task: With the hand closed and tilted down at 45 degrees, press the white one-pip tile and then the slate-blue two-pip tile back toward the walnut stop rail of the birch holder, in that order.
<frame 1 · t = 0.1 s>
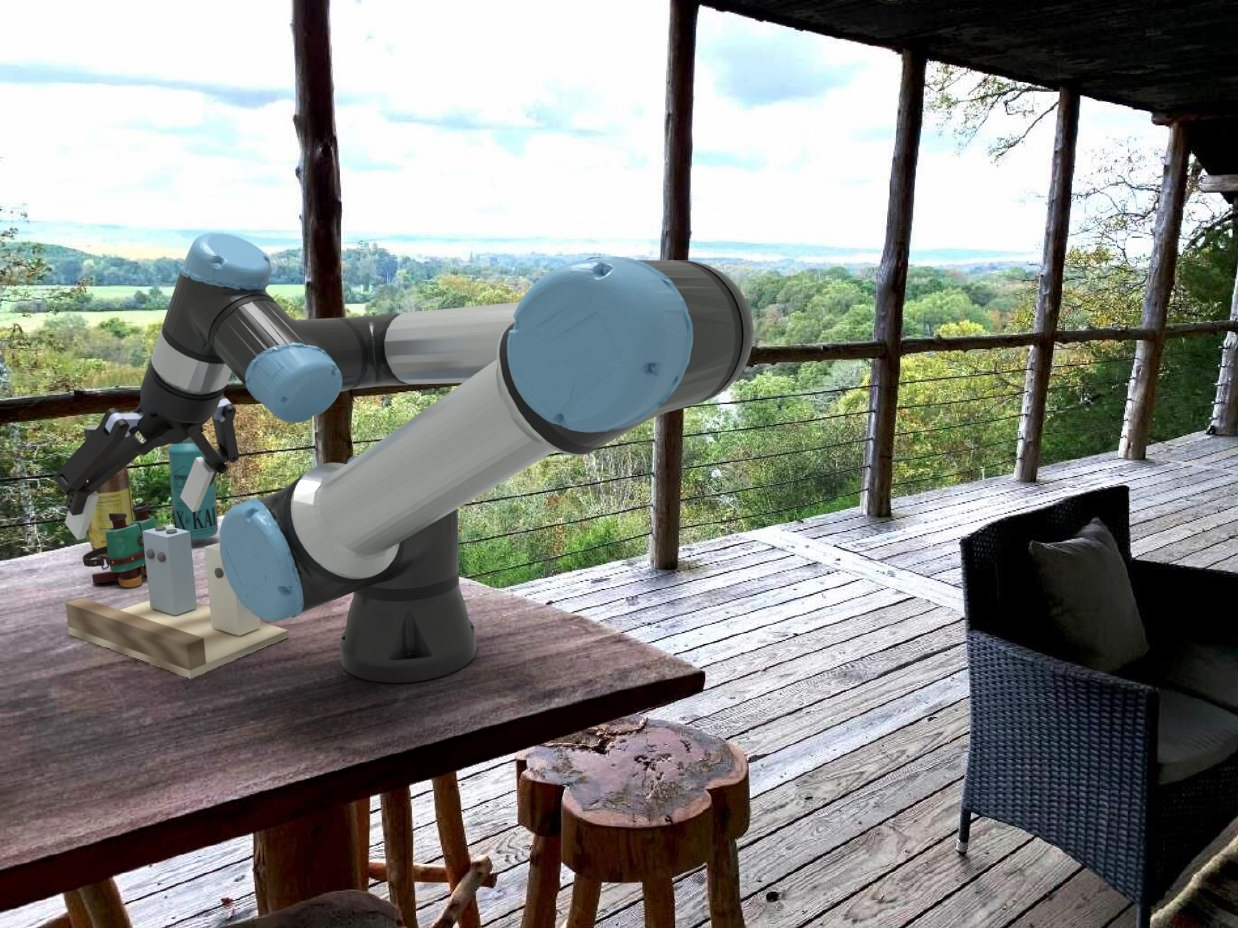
hand: (134, 516, 104), 15 cm above the table, tool tilted 35°, fingers open, 13 cm apart
beverage bottle: (198, 544, 145), on the table
tile two: (168, 569, 113), point 6 cm above the table, slide at 0.0 cm
holder: (178, 636, 109), on the table
sauce bottle: (114, 554, 139), on the table
tile one: (231, 586, 107), point 6 cm above the table, slide at 0.0 cm
binoculars: (123, 580, 128), on the table
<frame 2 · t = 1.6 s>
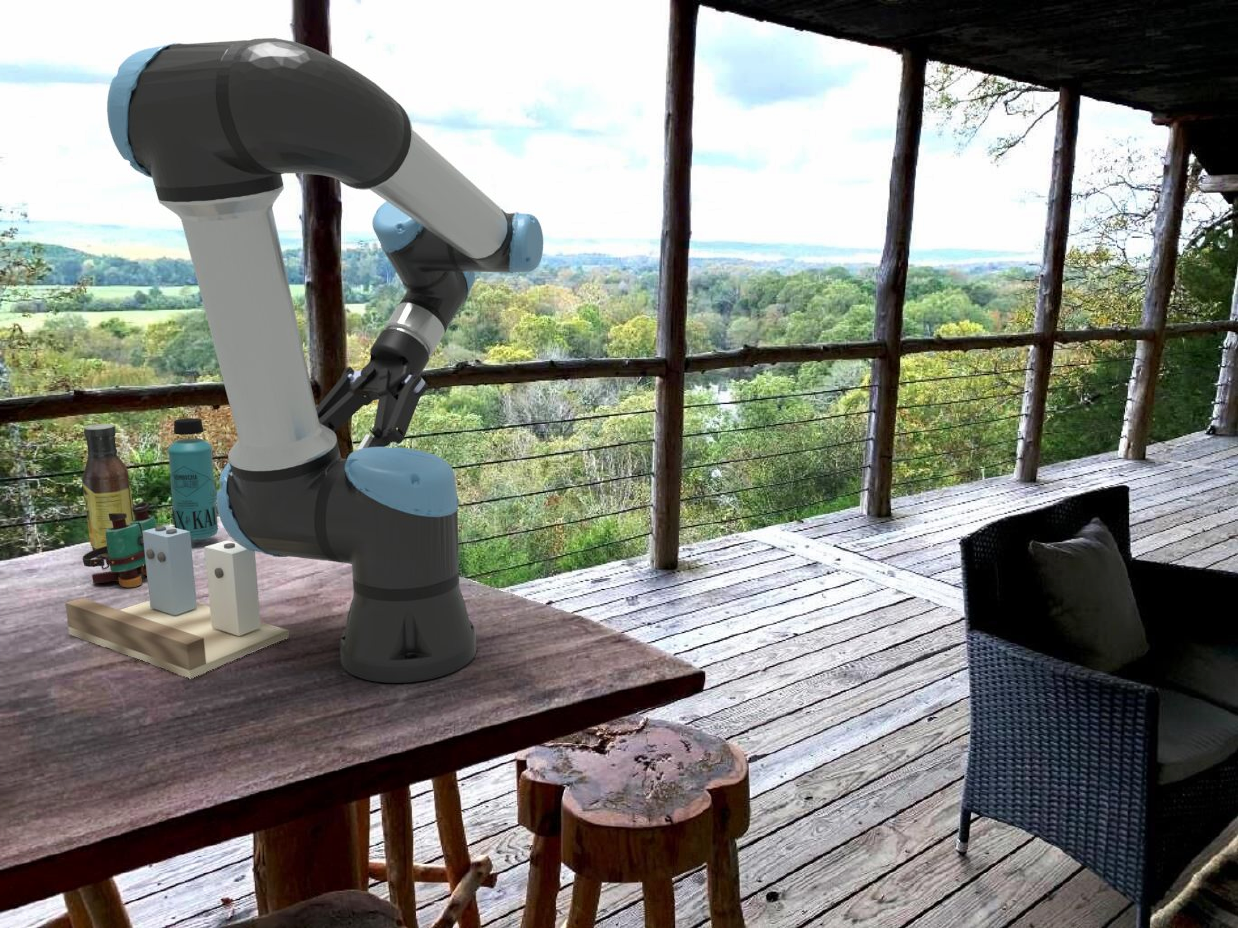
hand: (324, 477, 118), 17 cm above the table, tool tilted 45°, fingers open, 8 cm apart
nothing on the table moved.
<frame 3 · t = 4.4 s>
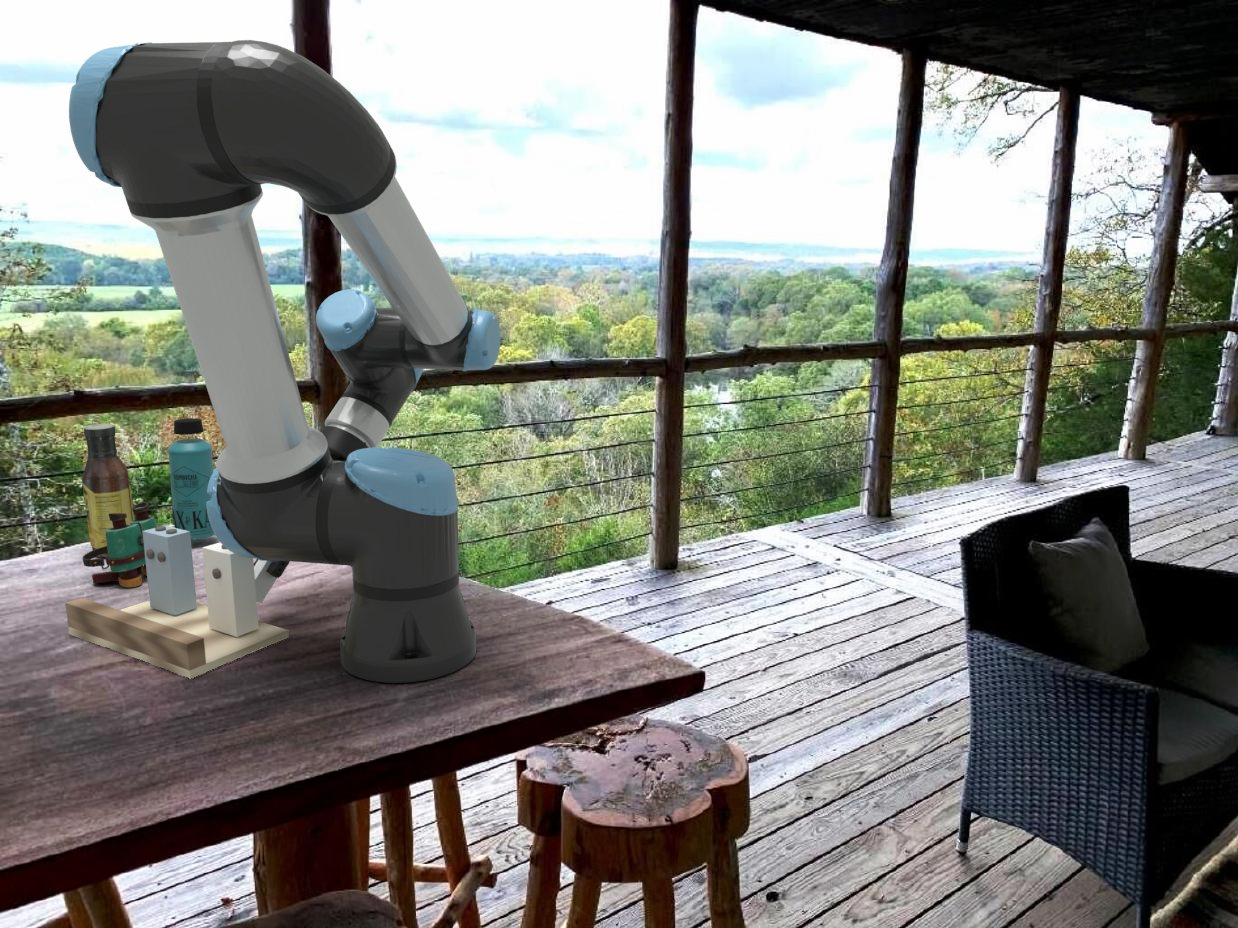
hand: (250, 596, 110), 4 cm above the table, tool tilted 45°, fingers closed
tile one: (229, 587, 107), point 6 cm above the table, slide at 0.3 cm, touching gripper
everything else where it was.
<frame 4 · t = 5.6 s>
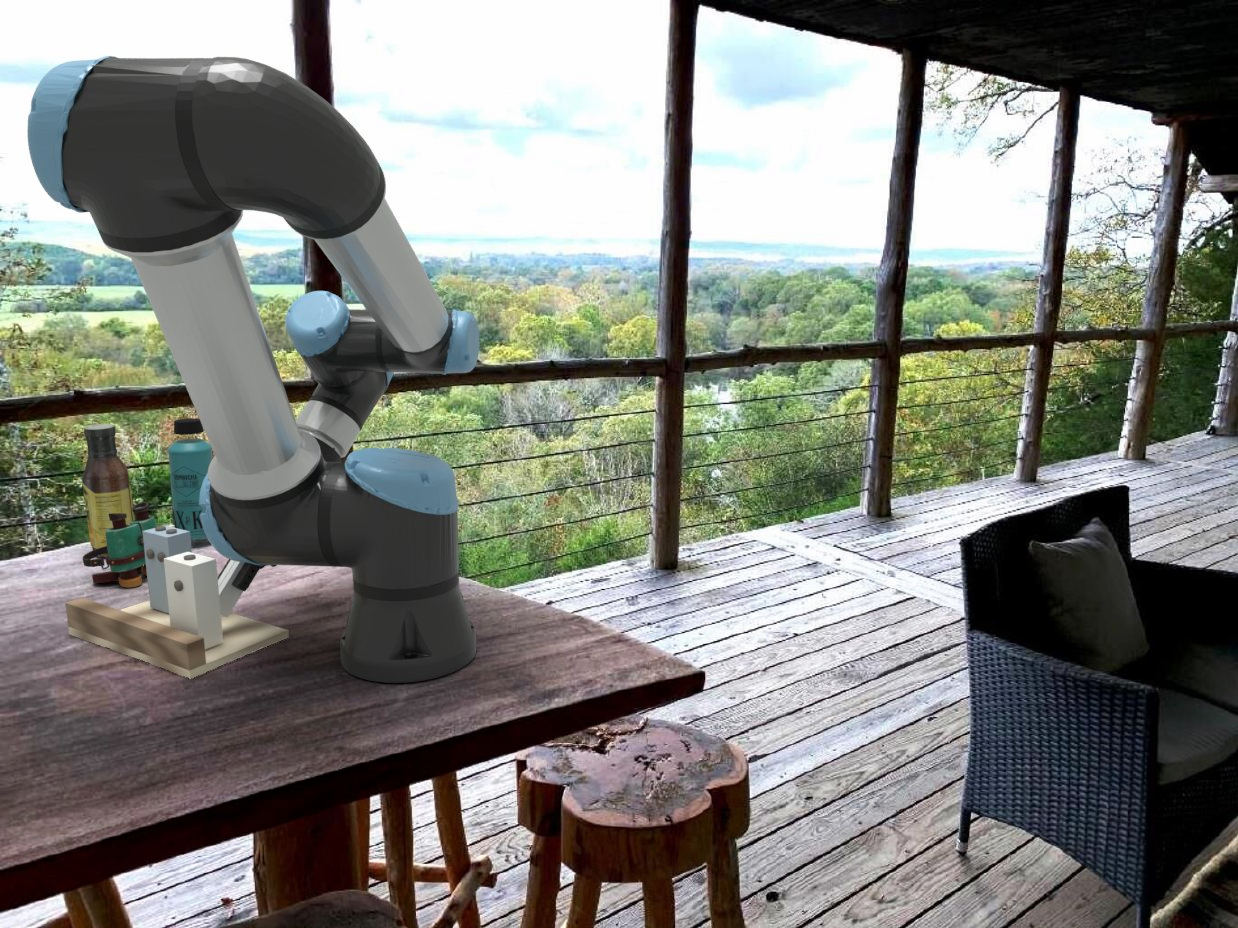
hand: (215, 611, 106), 4 cm above the table, tool tilted 45°, fingers closed
tile one: (192, 600, 103), point 6 cm above the table, slide at 5.1 cm, touching gripper
everything else where it was.
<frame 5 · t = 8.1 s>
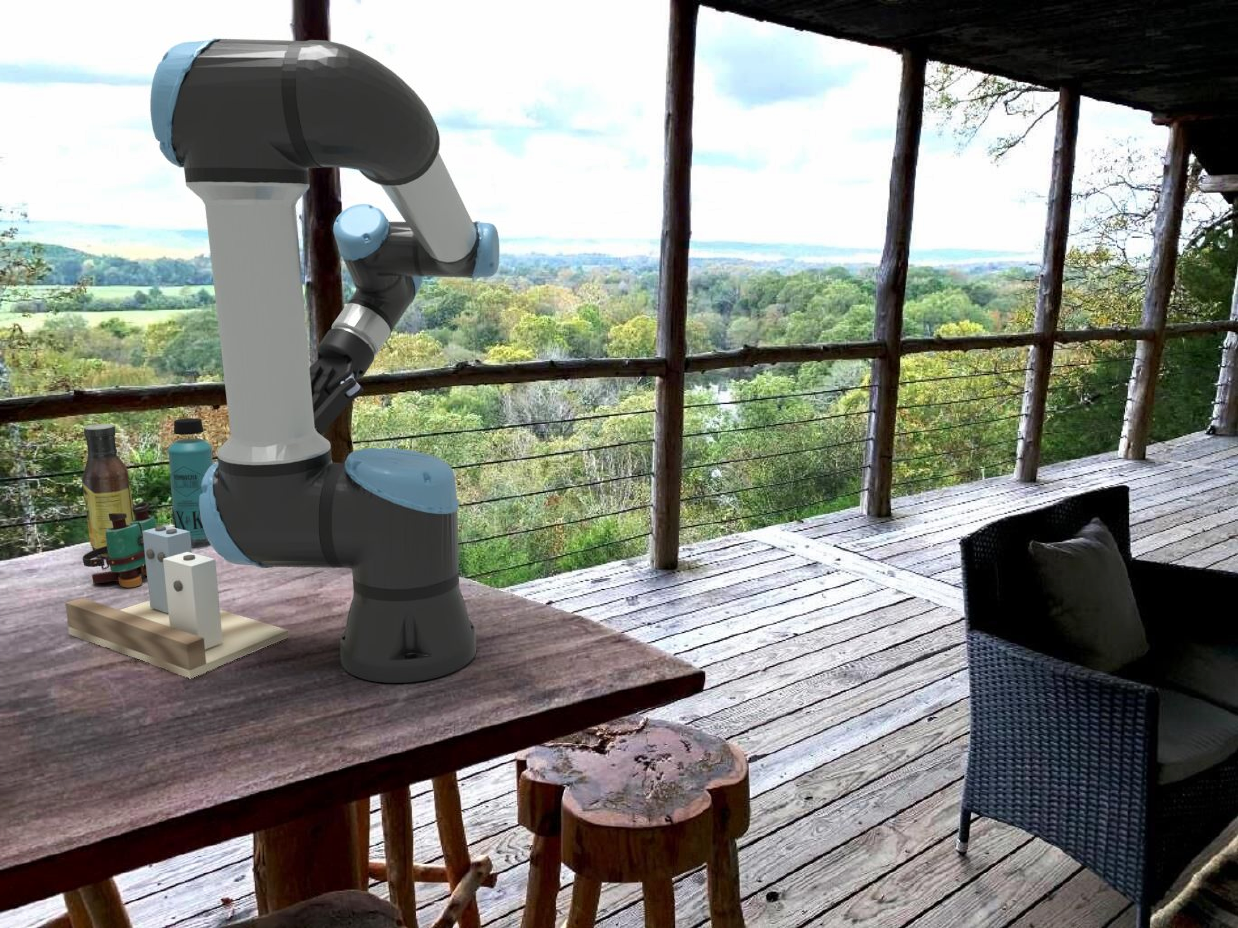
hand: (264, 475, 123), 16 cm above the table, tool tilted 45°, fingers closed
tile one: (191, 600, 103), point 6 cm above the table, slide at 5.2 cm
everything else where it was.
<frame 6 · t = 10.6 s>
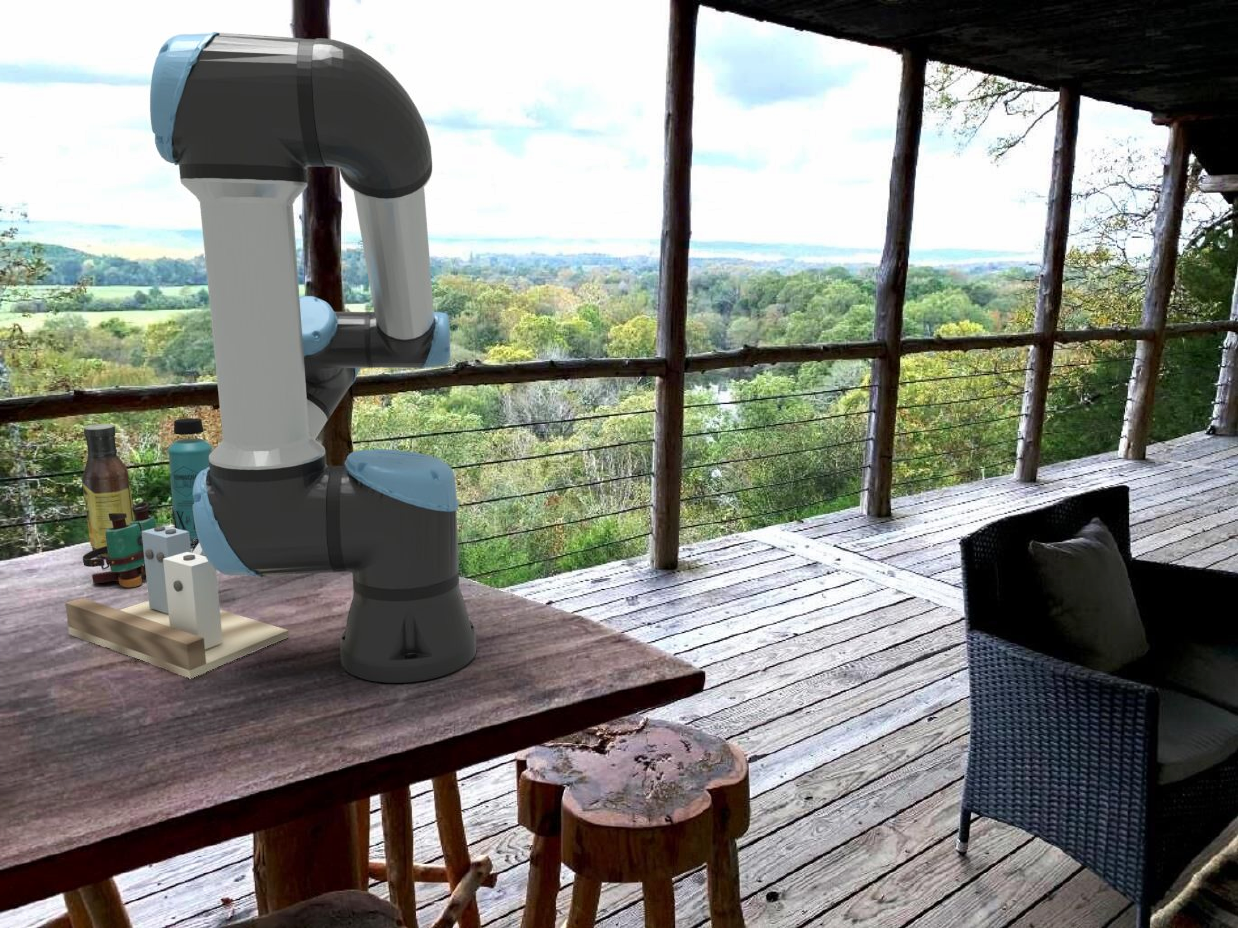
hand: (189, 580, 116), 4 cm above the table, tool tilted 45°, fingers closed
tile two: (167, 569, 113), point 6 cm above the table, slide at 0.1 cm, touching gripper
everything else where it was.
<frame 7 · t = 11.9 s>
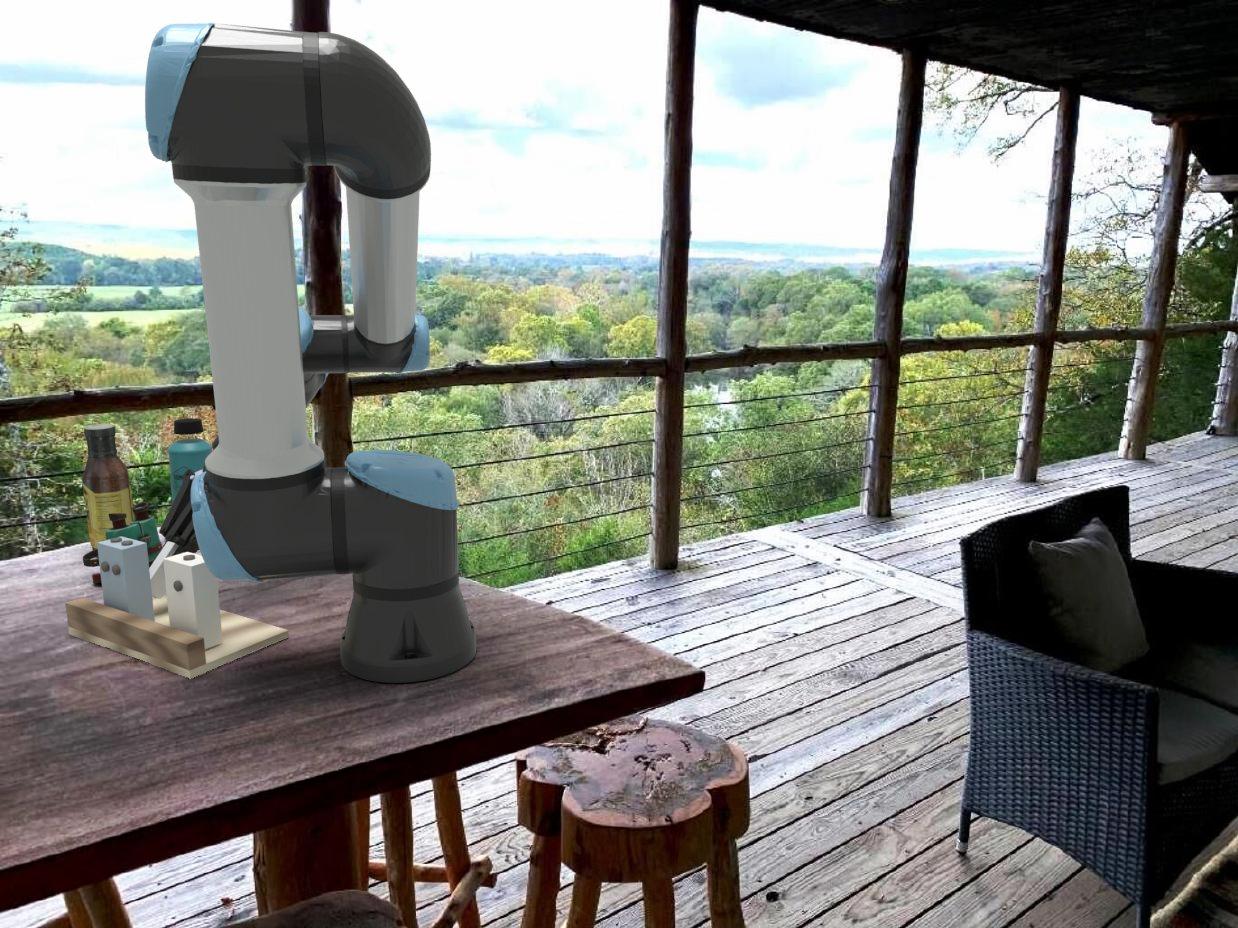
hand: (148, 593, 111), 4 cm above the table, tool tilted 45°, fingers closed
tile two: (124, 582, 108), point 6 cm above the table, slide at 5.7 cm, touching gripper
everything else where it was.
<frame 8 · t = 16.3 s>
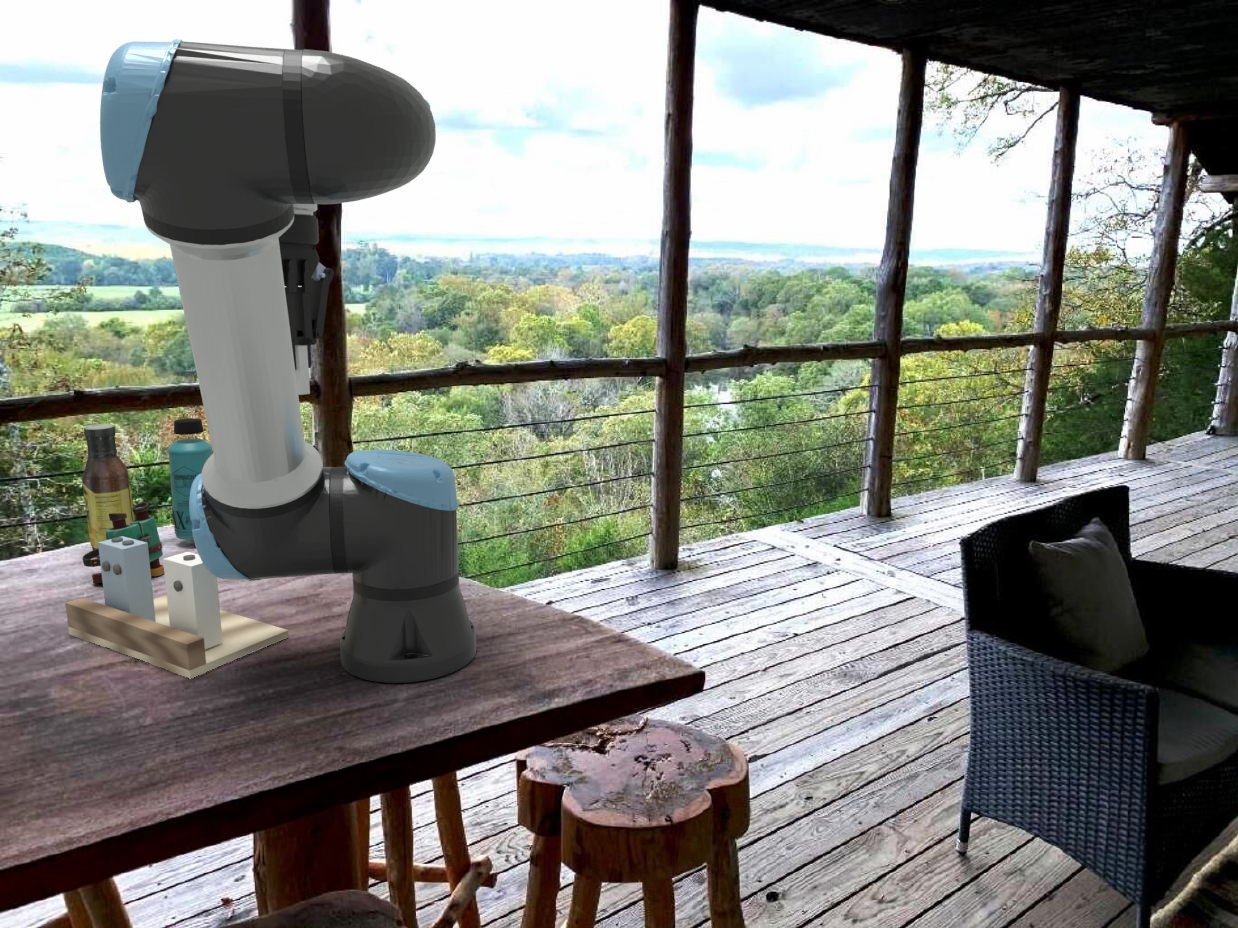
hand: (298, 393, 124), 26 cm above the table, tool pointing down, fingers closed
tile two: (125, 581, 108), point 6 cm above the table, slide at 5.5 cm
everything else where it was.
at the end: tile one slide at 5.2 cm; tile two slide at 5.5 cm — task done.
